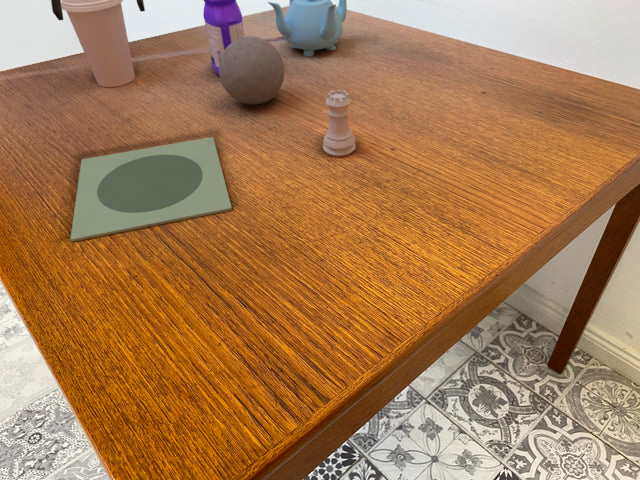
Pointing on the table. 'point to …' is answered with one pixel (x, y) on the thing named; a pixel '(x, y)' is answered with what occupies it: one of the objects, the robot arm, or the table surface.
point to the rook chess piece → (338, 126)
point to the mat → (148, 188)
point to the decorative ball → (251, 70)
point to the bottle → (222, 27)
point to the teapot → (311, 24)
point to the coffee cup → (102, 39)
